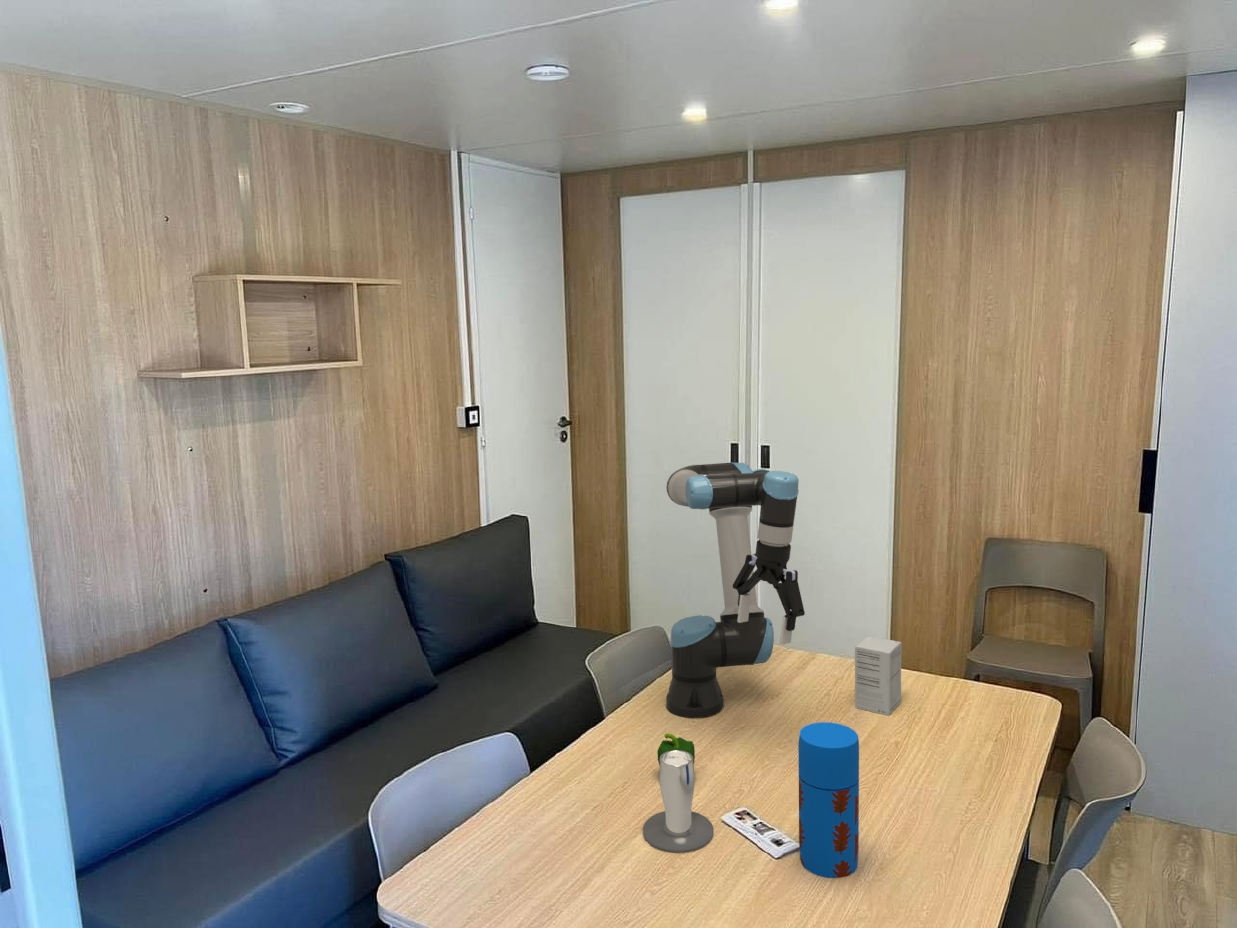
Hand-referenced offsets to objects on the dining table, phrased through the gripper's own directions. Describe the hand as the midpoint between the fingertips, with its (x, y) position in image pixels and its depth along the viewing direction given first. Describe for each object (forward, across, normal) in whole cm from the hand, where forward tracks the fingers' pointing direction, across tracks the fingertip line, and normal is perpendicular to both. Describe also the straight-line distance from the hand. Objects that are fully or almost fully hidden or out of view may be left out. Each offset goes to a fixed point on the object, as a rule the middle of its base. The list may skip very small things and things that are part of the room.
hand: (763, 632), depth 201 cm
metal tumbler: (+31, -14, +33) cm, 47 cm away
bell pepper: (+32, +3, +19) cm, 38 cm away
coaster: (+31, -14, +33) cm, 47 cm away
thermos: (+28, -39, +17) cm, 51 cm away
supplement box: (+28, -1, -44) cm, 52 cm away
